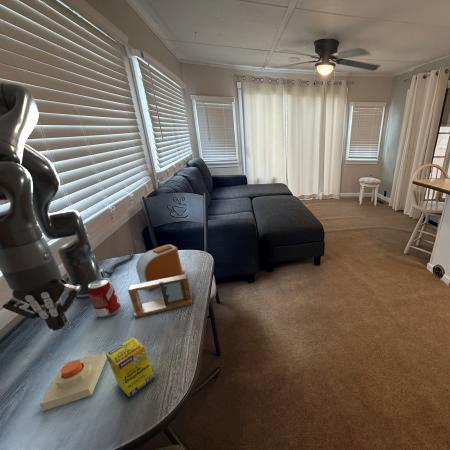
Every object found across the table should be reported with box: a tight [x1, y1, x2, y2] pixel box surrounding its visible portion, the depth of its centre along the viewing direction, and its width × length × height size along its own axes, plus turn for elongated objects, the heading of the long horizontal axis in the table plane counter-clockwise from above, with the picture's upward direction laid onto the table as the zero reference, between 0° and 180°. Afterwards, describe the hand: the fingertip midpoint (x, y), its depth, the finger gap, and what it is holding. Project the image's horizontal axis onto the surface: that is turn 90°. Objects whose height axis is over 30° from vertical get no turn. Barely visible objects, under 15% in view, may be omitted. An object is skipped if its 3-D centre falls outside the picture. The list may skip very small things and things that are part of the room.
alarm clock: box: [135, 243, 184, 291], centre depth 101 cm, size 15×8×14 cm, turn 144°
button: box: [60, 359, 83, 378], centre depth 59 cm, size 4×4×2 cm
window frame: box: [127, 273, 193, 318], centre depth 85 cm, size 6×18×10 cm, turn 112°
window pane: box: [159, 281, 186, 306], centre depth 84 cm, size 5×7×11 cm
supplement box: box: [105, 336, 155, 399], centre depth 58 cm, size 6×6×11 cm
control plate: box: [39, 351, 108, 411], centre depth 59 cm, size 11×9×4 cm
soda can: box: [88, 277, 121, 318], centre depth 82 cm, size 7×7×12 cm
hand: (59, 327), depth 55 cm, fingers closed
